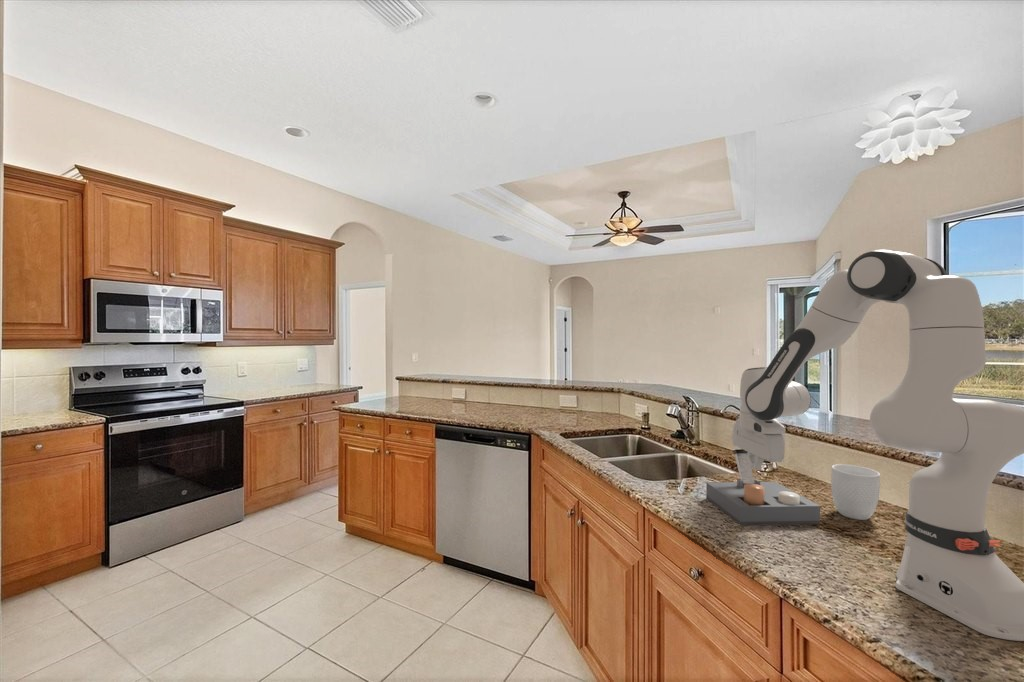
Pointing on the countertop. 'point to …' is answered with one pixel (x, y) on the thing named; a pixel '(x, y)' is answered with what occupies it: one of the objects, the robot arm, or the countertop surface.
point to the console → (770, 513)
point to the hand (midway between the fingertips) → (755, 468)
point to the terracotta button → (754, 494)
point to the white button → (789, 498)
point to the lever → (744, 466)
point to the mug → (855, 490)
